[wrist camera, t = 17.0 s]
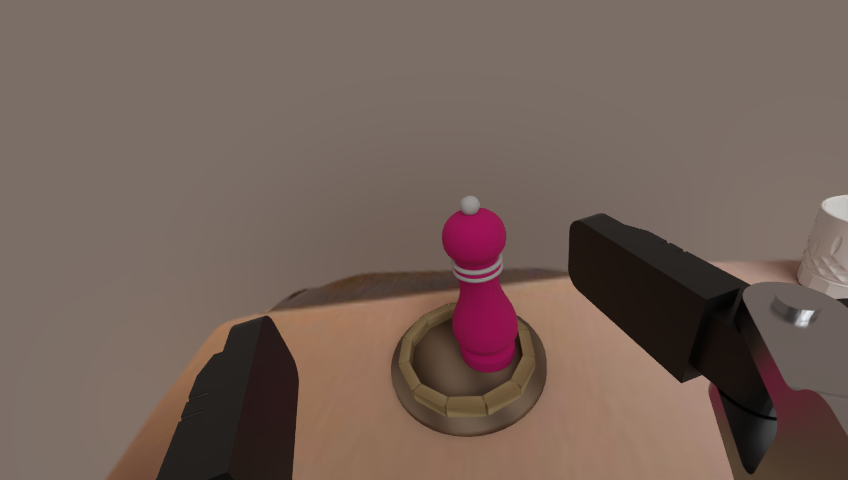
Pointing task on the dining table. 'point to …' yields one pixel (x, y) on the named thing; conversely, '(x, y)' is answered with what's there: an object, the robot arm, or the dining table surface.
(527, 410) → the tray
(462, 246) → the pepper mill
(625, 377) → the dining table surface
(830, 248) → the white cup
